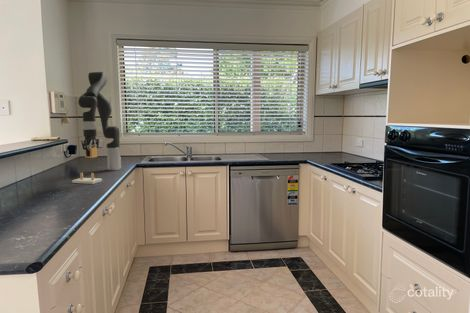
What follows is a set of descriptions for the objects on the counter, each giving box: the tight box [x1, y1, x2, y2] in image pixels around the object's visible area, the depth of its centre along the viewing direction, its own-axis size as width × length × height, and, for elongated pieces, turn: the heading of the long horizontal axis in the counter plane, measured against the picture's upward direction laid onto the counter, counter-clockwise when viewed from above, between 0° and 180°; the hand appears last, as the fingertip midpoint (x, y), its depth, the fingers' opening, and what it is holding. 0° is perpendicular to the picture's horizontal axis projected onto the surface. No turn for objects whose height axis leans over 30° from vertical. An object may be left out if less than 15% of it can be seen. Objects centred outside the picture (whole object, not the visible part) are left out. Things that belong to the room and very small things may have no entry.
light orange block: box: [84, 146, 98, 159], centre depth 202 cm, size 5×5×6 cm
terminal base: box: [71, 172, 103, 185], centre depth 203 cm, size 9×15×6 cm, turn 76°
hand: (91, 155), depth 202 cm, fingers closed on light orange block, 5 cm apart
